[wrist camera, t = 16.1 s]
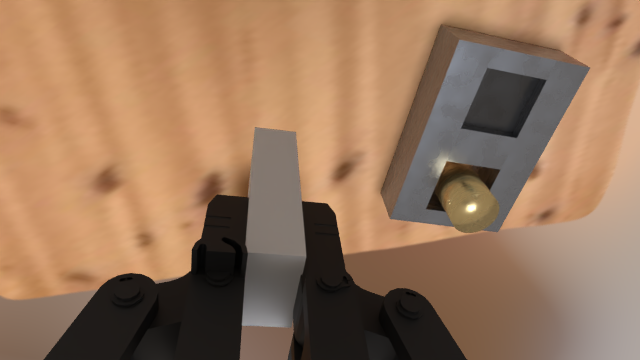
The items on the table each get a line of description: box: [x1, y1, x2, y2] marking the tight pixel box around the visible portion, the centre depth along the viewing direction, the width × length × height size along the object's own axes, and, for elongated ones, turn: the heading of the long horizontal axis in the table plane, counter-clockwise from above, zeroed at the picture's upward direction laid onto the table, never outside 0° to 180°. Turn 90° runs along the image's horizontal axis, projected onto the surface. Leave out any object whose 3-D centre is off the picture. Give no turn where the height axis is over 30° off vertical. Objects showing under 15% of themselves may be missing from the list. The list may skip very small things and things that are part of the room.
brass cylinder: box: [434, 161, 499, 233], centre depth 44 cm, size 4×4×8 cm
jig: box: [381, 25, 590, 232], centre depth 43 cm, size 18×12×4 cm, turn 167°
